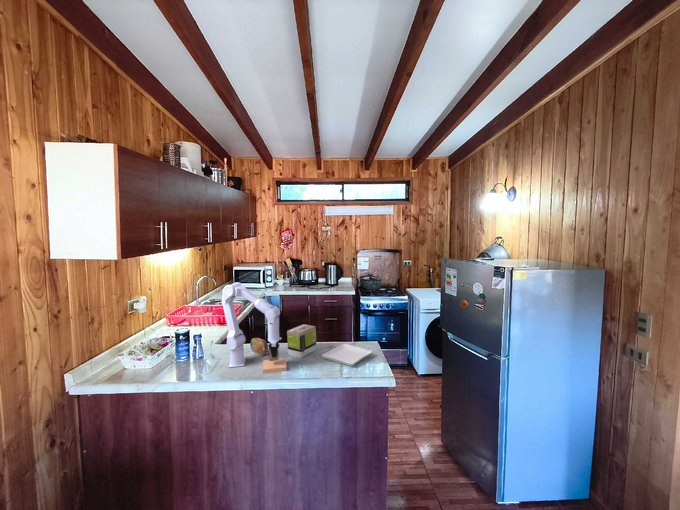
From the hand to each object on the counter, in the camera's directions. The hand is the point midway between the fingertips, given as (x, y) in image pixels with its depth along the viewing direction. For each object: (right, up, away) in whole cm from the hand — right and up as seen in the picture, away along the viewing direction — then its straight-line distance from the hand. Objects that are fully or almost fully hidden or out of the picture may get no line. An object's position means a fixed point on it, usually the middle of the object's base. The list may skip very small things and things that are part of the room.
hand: (274, 355), depth 171 cm
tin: (-13, -5, +21) cm, 25 cm away
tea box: (+12, -5, +20) cm, 24 cm away
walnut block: (0, -2, 0) cm, 2 cm away
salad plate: (+39, -5, +11) cm, 41 cm away
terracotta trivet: (0, -7, +1) cm, 7 cm away
